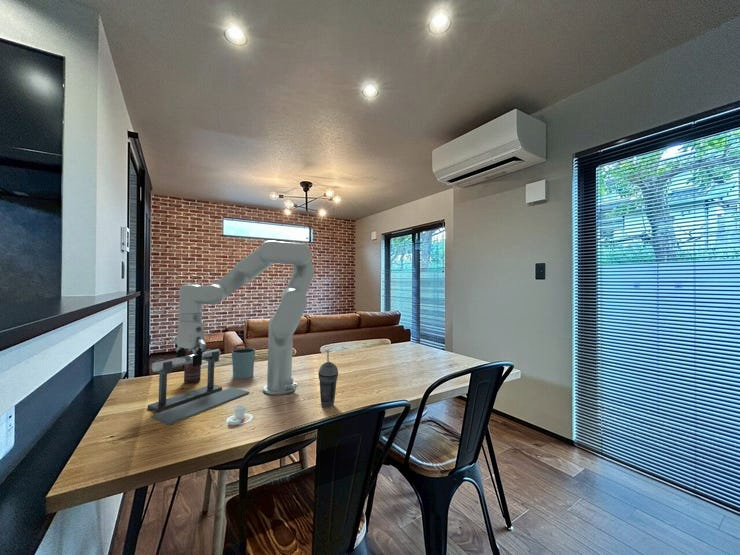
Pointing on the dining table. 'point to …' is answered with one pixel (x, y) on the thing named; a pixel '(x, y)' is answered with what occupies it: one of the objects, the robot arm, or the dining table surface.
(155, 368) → the steel rail
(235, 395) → the rubber mat
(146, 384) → the dining table surface
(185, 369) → the can
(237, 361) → the teal tapered cup
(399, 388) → the dining table surface
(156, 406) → the hook stands
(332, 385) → the beverage cup
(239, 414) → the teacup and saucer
